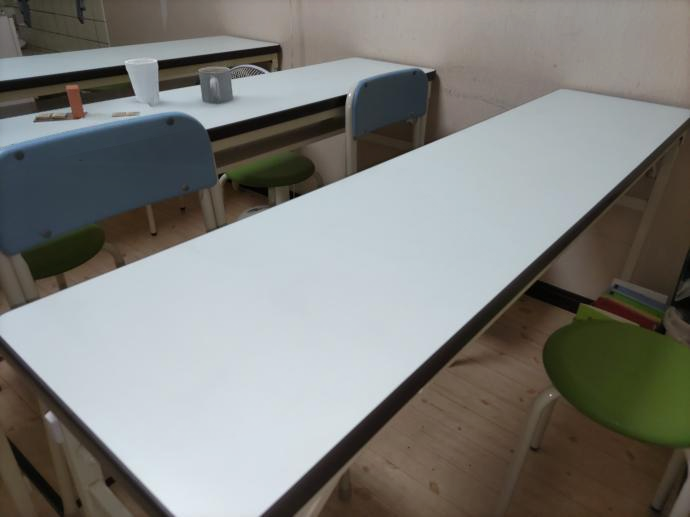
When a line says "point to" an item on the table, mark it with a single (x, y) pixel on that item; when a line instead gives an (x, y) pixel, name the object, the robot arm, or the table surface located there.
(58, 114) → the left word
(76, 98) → the orange rectangular block
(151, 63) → the foam cup
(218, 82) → the coffee mug
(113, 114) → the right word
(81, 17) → the robot arm
